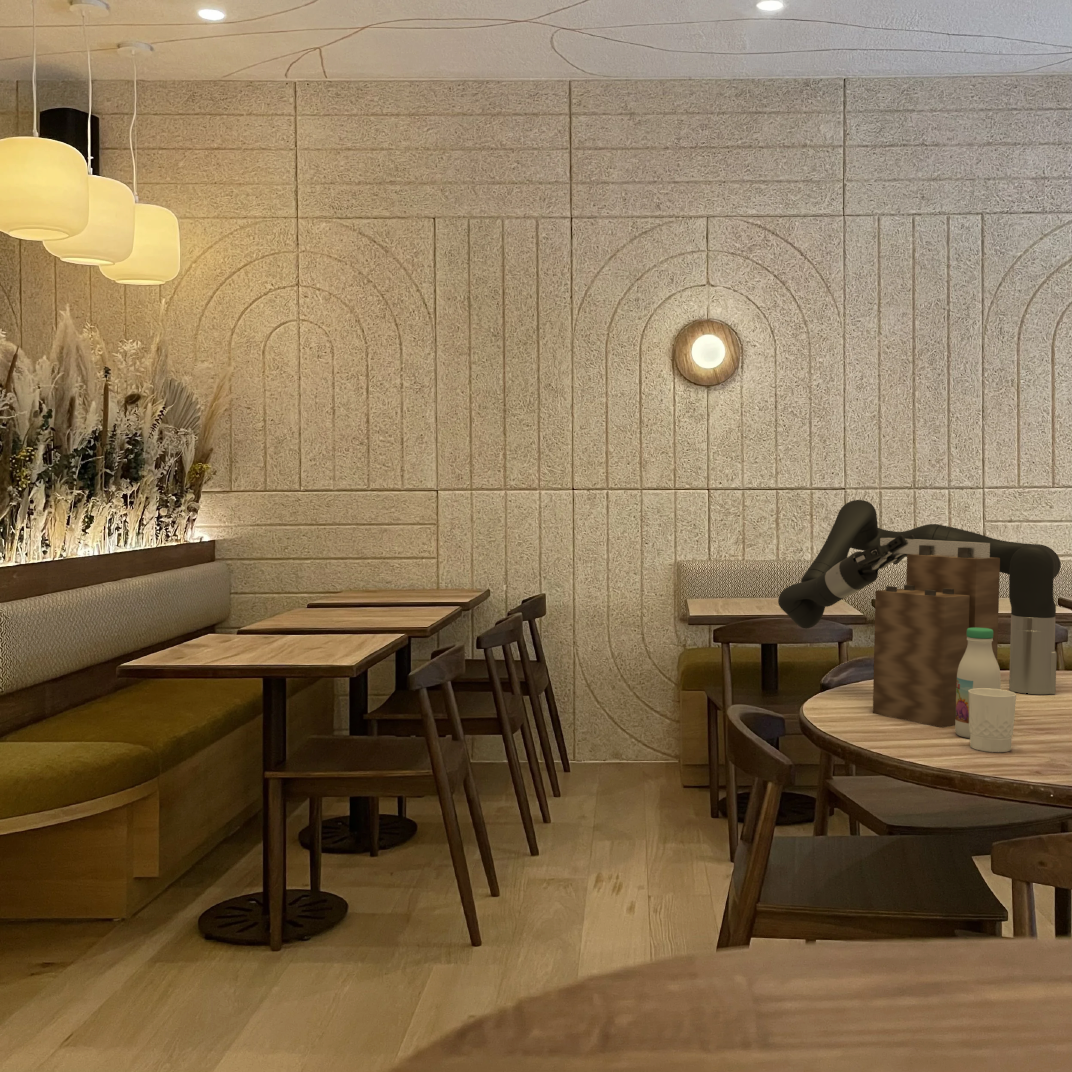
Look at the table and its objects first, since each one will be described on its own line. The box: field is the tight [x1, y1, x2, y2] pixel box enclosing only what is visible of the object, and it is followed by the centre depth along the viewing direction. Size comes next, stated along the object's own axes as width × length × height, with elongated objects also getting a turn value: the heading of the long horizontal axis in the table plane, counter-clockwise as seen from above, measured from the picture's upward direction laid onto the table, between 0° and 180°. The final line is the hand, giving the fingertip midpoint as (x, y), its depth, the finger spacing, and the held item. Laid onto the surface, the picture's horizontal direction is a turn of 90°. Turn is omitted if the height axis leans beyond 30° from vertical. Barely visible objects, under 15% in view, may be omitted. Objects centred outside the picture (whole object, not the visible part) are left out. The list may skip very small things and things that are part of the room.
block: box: [880, 538, 990, 559], centre depth 236 cm, size 24×3×3 cm, turn 36°
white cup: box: [968, 688, 1017, 753], centre depth 202 cm, size 8×8×10 cm
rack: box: [872, 545, 1001, 728], centre depth 230 cm, size 16×18×34 cm
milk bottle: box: [954, 628, 1002, 739], centre depth 211 cm, size 8×8×20 cm
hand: (909, 539), depth 241 cm, fingers closed on block, 3 cm apart
